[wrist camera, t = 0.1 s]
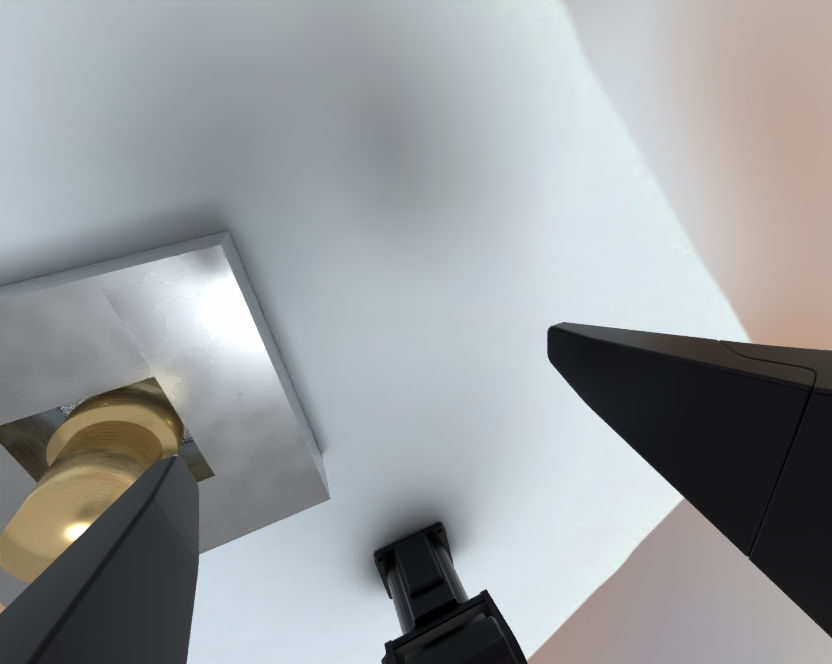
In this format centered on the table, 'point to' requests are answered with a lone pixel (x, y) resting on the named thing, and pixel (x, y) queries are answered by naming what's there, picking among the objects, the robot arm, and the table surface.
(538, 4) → the table surface
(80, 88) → the table surface
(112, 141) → the table surface
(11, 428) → the plate
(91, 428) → the knob
